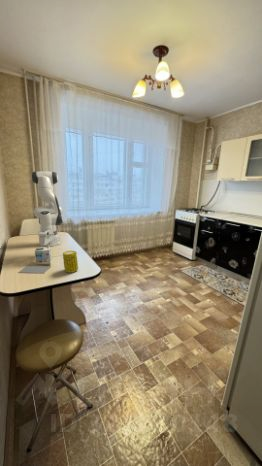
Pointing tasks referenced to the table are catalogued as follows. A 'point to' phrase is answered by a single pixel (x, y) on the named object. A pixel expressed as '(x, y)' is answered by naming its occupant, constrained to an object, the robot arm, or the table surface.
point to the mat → (34, 269)
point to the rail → (39, 264)
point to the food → (70, 261)
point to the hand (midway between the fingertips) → (48, 247)
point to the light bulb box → (43, 255)
